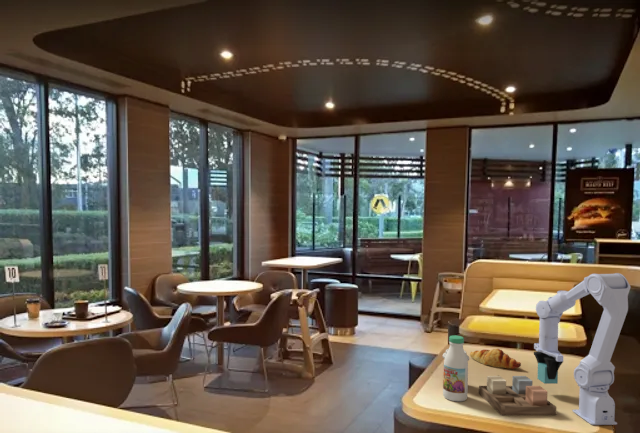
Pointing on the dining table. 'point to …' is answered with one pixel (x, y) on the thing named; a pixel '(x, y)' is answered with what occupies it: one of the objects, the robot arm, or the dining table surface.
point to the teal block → (545, 375)
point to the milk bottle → (455, 371)
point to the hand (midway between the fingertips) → (547, 376)
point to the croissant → (495, 359)
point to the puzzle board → (516, 396)
